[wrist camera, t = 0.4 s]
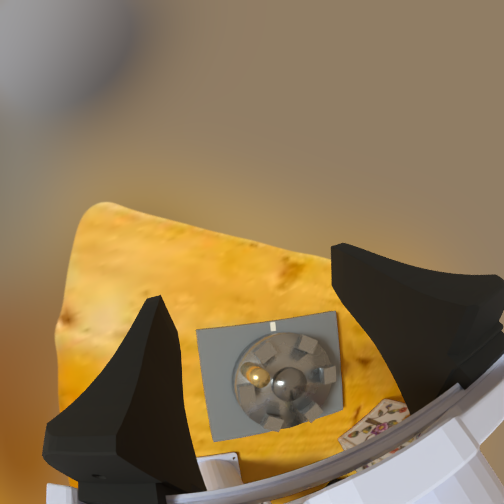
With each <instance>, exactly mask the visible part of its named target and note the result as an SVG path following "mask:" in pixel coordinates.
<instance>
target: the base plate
mask: <svg viewBox="0 0 504 504" xmlns="http://www.w3.org/2000/svg"><path fill="white" fill-rule="evenodd" d="M274 332H288V333H294V334H301V335H305V336H307V337H310V338H312V339H315V340H317V341H318V342H317V343H318V344H319V345H320V346H321V347H322V348H323V349H324V351H325V352H326V354H327V356H328V358H329V360H330V364H331V365H334V366H335V367H336V382H333V383H331V387H330V391H329V394H328V396H327V398H326V400H325V402H324V403H323V405H322V406H321V409H322V411H323V413H322V414H321V415H319V416H318V417H317V418H320V417H323V416H326V415H329V414H332V413H335V412H338V411H341V410H343V396H342V378H341V363H340V350H339V339H338V328H337V319H336V311H329V312H323V313H318V314H312V315H306V316H300V317H293V318H287V319H280V320H273V321H266V322H259V323H251V324H243V325H235V326H226V327H217V328H207V329H196V334H197V343H198V351H199V358H200V366H201V373H202V380H203V386H204V393H205V399H206V405H207V411H208V417H209V423H210V429H211V434H212V438H213V441H214V442H217V441H224V440H230V439H236V438H241V437H246V436H251V435H256V434H261V433H265V432H270V431H272V430H268V429H264V428H263V427H262V426H261V425H260V424H258V423H256V422H254V421H253V420H252V419H250V418H249V417H248V416H247V415H246V413H245V412H244V411H243V409H242V408H241V407H240V406H239V404H238V403H237V401H236V399H235V397H234V394H233V390H232V372H233V368H234V365H235V363H236V361H237V359H238V357H239V355H240V354H241V352H242V351H243V350H244V349H245V348H246V347H247V346H248V345H249V344H250V343H251V342H253V341H254V340H256V339H257V338H259V337H261V336H264V335H266V334H270V333H274ZM317 418H316V419H317ZM307 421H308V420H306V421H305V422H307ZM303 423H304V422H303Z"/></svg>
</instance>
